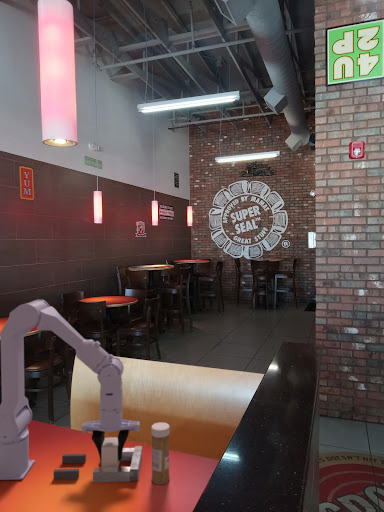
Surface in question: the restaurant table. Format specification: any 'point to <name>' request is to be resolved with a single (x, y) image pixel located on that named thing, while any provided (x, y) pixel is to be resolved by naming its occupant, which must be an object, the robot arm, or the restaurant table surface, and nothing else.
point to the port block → (121, 468)
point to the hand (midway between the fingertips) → (111, 458)
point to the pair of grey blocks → (69, 472)
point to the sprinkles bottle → (160, 452)
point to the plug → (110, 453)
